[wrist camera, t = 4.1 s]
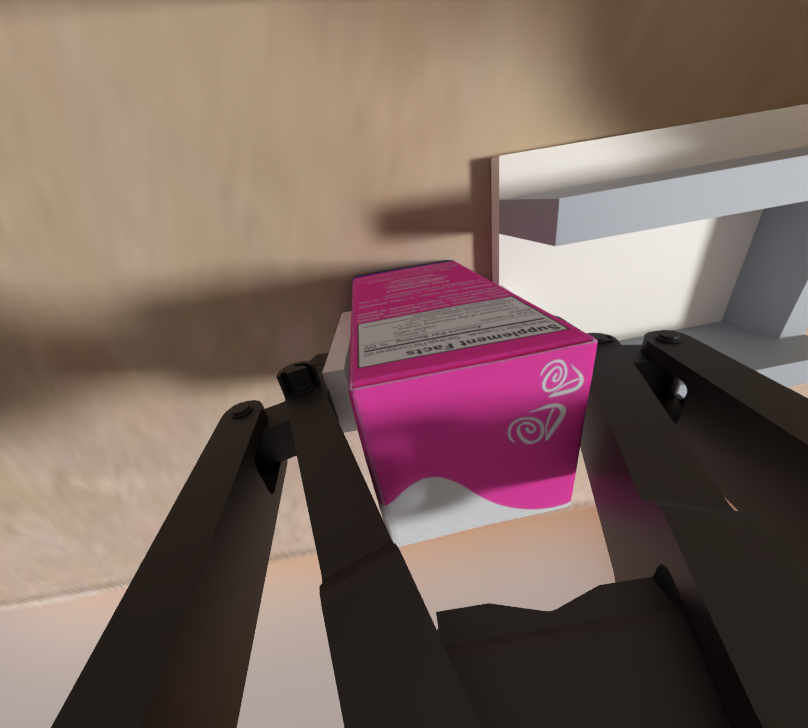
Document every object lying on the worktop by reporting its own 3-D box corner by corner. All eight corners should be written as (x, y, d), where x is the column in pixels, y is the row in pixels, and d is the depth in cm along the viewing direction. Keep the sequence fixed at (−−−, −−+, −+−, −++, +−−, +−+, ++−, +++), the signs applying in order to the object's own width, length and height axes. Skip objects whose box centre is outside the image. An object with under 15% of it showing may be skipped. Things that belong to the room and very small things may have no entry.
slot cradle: (493, 397, 21) (536, 462, 16) (490, 158, 14) (564, 133, 9) (710, 354, 22) (822, 403, 16) (805, 105, 15) (1045, 52, 10)
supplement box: (463, 351, 19) (575, 515, 9) (370, 368, 19) (379, 556, 9) (458, 255, 16) (611, 339, 6) (349, 274, 16) (329, 392, 6)
